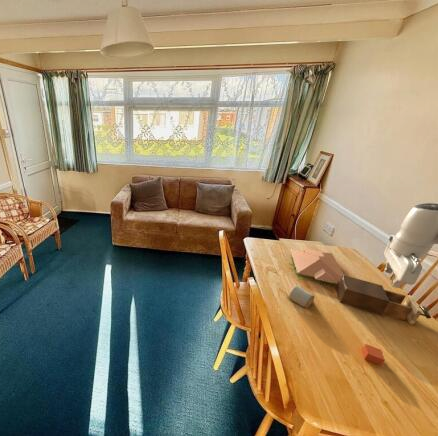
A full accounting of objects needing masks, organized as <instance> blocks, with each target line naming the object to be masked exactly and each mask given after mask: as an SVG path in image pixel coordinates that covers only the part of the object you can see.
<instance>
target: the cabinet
mask: <svg viewBox="0 0 438 436" xmlns="http://www.w3.org/2000/svg"><path fill="white" fill-rule="evenodd" d="M385 290H386V289H385V288H384V285H382V284H378V283H374V282H371V281H367V280H364V279H360V278H356V277H352V276H349V275H345V274H344V275H342V278H341V280H340V282H339V284H337V286H336V289H335V291H336V296H337V301H339V303H340V304H344V305H346V306H350V307H353V308H356V309H359V310H363V311H366V312H368V313H373V314H376V315H378V316H382V315H383V314H382V313H383V312H384V310H385V308H386V307H387V305H388V303H389V302H390V301H389V299H388V297H387V295H386V292H385Z"/></svg>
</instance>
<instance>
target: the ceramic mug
mask: <svg viewBox="0 0 438 436" xmlns="http://www.w3.org/2000/svg"><path fill="white" fill-rule="evenodd" d="M288 299H289V300H290V301H292V302H294V303H296V304H297V305H299V306H300V307H302V308H305V309H308V308H309V307H310V306H311V305H312V304H313V302H314V300H315V296H314V295H313V294H312V293H311V292H310V291H307V290H306V289H304V288H303V287H301V286H299V285H298V284H297V285H295V286H294V287H293V288H292V289H291V291H290V292H289V295H288Z"/></svg>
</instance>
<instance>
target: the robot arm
mask: <svg viewBox="0 0 438 436" xmlns="http://www.w3.org/2000/svg"><path fill="white" fill-rule="evenodd" d="M434 245H438V203H433V202H426V203H419V204H417V205H414V206H413V207H412V208H411V209H410V210H409V212H408V213H407V214H406V215H405V217H404V219H403V221H402V222H401V225H400V230H399V231H398V232H396V234H390V235H389V237H388V242H387V244H386V247H385V248H384V252H383V253H384V254H383V255H384V257H385V259H386V264H385V267H384V272H385V273H387V274H392V273H394V276H395V280H392V282H391V283H390V284H391V286H392V287H393V288H397V289H400V287H401V286H402V285H404V284H406V285H408V286H409V285H410V286H413V285H415V284H416V282H417V281H418V280H419V277H420V275H421V273H422V270H423V265H422V263H421V260H422V259H425V258H426V257H427V256H428V254H429V253H430V250H431V249H432V248H433V246H434Z"/></svg>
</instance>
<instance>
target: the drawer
mask: <svg viewBox="0 0 438 436" xmlns="http://www.w3.org/2000/svg"><path fill="white" fill-rule="evenodd" d="M384 290H385V292H386V295H387V297H388V299H389V301H390V302H389V303H388V305H387V307H386V308H385V310H384V312H383V313H382V315H385V316H388V317H391V318H393V319H397V320H401V321H403V322H405V321H407V322H408V323H409V324H410V325H415V323H416V322H417V320H418V319H419V317H420V316H422V317H425V318H426V319H432V316H431V315H430V313H429V311H428V310H427V308H426V307H425V306H424V305H421V306H420V305H419V304H418V302H417V301H416V299H415V298H414V296H413V295H410V294H409V295H408V296H406V295H405V294H402V293H398V292H395V291H391V290H388V289H384ZM406 297H407V298H406ZM405 298H406V299H405ZM404 300H405V301H404ZM402 303H403V304H402Z"/></svg>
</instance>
